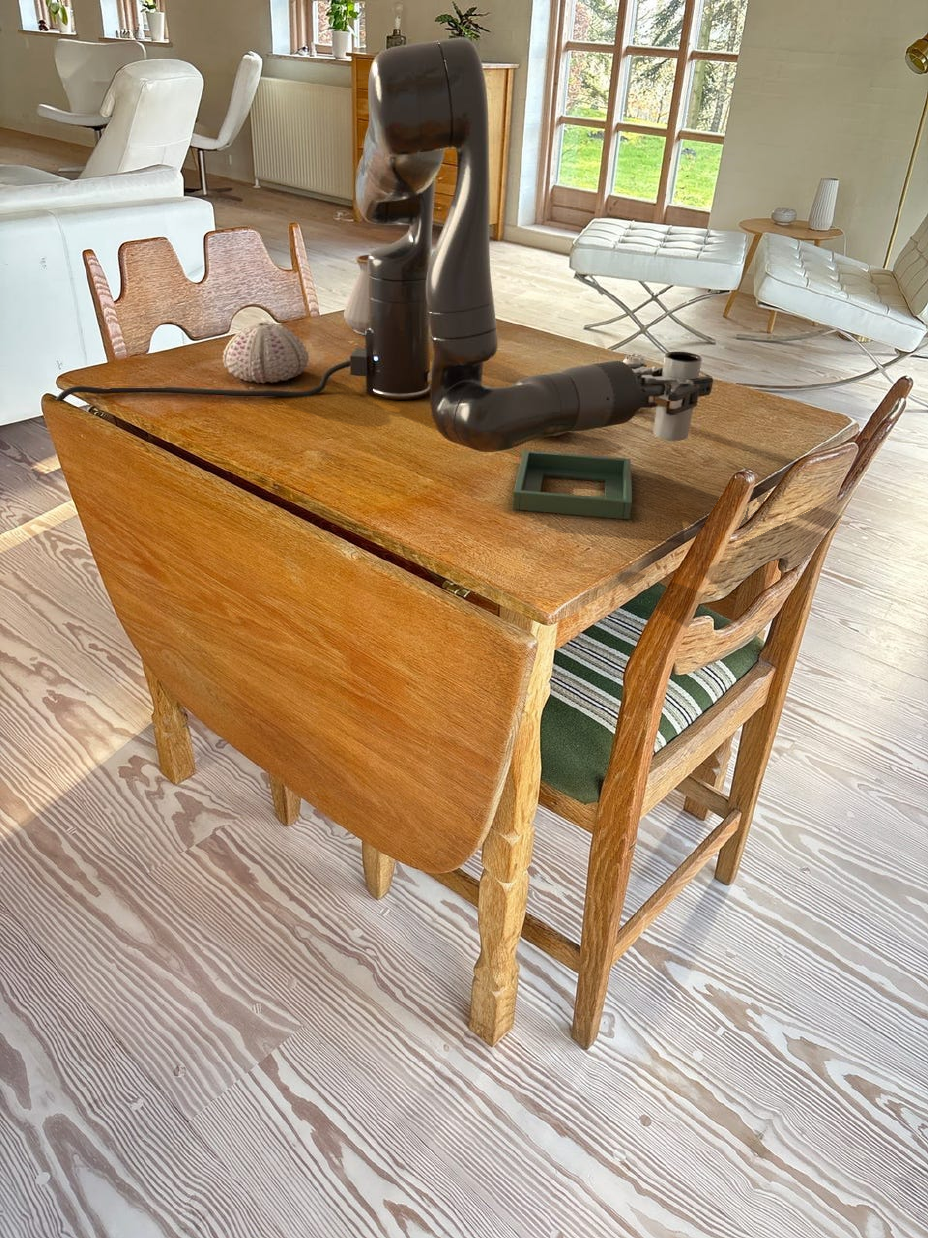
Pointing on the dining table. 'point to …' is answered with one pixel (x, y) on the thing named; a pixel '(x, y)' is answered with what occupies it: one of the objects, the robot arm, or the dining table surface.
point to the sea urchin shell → (265, 354)
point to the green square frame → (574, 467)
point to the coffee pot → (359, 300)
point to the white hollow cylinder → (680, 369)
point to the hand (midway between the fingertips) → (695, 379)
